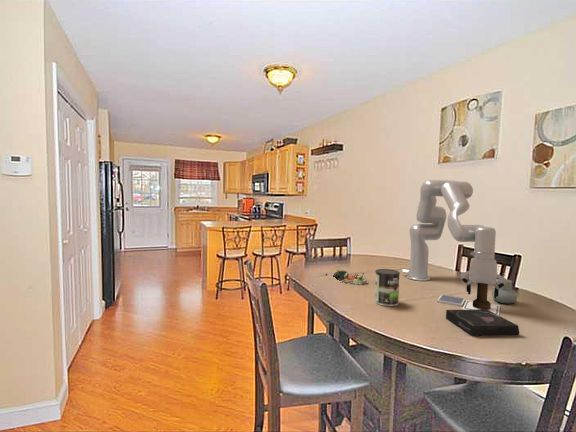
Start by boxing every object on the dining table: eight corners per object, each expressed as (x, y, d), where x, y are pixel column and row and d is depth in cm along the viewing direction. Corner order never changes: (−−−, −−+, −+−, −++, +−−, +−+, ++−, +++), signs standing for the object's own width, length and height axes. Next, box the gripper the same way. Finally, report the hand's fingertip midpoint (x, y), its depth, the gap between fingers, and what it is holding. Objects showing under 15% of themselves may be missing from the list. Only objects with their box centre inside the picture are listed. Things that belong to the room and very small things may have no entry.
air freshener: (517, 306, 147) (518, 284, 146) (495, 304, 150) (496, 282, 149) (510, 299, 157) (511, 278, 156) (490, 297, 160) (491, 276, 159)
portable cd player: (519, 336, 116) (519, 325, 116) (471, 337, 115) (472, 326, 115) (487, 319, 133) (488, 309, 132) (445, 319, 131) (446, 309, 131)
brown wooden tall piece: (488, 305, 146) (490, 264, 145) (492, 310, 140) (494, 267, 139) (471, 304, 148) (473, 263, 147) (474, 308, 142) (476, 266, 141)
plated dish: (386, 289, 174) (386, 275, 174) (333, 291, 171) (333, 277, 170) (362, 273, 209) (363, 262, 209) (318, 275, 206) (318, 263, 205)
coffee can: (403, 304, 148) (404, 272, 147) (386, 307, 143) (387, 274, 142) (386, 297, 157) (387, 267, 156) (369, 300, 152) (370, 269, 151)
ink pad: (437, 302, 151) (437, 299, 151) (441, 296, 160) (441, 294, 160) (462, 306, 146) (462, 303, 146) (465, 300, 154) (465, 298, 154)
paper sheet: (462, 309, 142) (462, 308, 142) (466, 300, 154) (466, 299, 154) (498, 316, 134) (498, 315, 134) (500, 306, 147) (500, 305, 147)
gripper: (460, 255, 145) (458, 294, 146) (508, 259, 135) (505, 301, 136) (462, 252, 151) (460, 290, 152) (508, 257, 141) (506, 297, 142)
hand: (482, 295), depth 144 cm, fingers open, 9 cm apart
